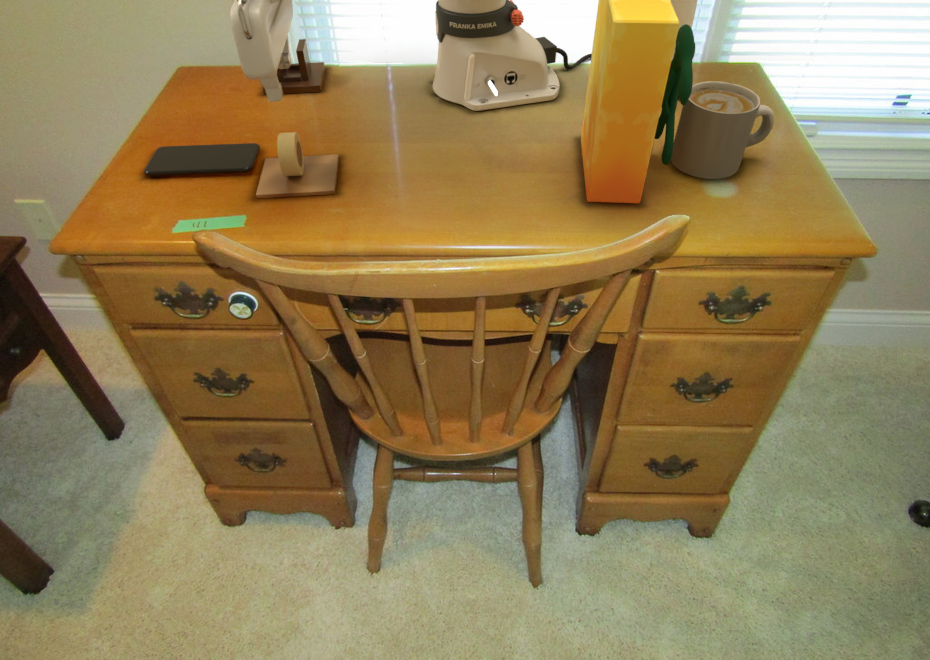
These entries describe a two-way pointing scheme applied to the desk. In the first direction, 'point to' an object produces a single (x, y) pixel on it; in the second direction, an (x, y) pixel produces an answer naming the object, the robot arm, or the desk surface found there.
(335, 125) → the desk surface
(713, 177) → the coffee mug
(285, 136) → the tape roll
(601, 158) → the mottled yellow carton
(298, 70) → the stand
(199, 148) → the smartphone
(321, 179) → the cork pad
